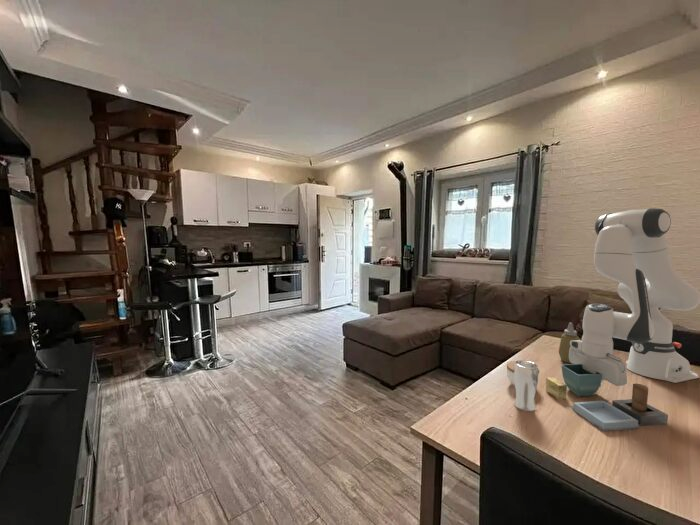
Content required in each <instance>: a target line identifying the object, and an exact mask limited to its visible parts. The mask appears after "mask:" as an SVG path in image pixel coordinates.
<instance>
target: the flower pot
mask: <svg viewBox="0 0 700 525" xmlns="http://www.w3.org/2000/svg"><path fill="white" fill-rule="evenodd" d="M560 367H561V374H562V378H563V381H564V382H563V383H564V384H566V385H567V388H568V389H569V391H571V392H572V393H574V395H577V396H578V397H585V396H586V397H587V396H593V395H595V394H596V393H597V392H598V391H599V389H600V388H601V387H600V383H601V379H602V374H601V373H599V372H596V374H592V373H590V372H588V371H586V370H584V369H583V368H582V364H573V363H566V364H561V366H560ZM601 384H602V383H601Z"/></svg>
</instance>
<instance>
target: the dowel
mask: <svg viewBox="0 0 700 525" xmlns="http://www.w3.org/2000/svg"><path fill="white" fill-rule="evenodd" d="M631 392H632V393H631V399H632V405H631V408H633V409H635V410H637V411H639V412H647V404H648V397H649V387H648V386H647V385H644V384H641V383H632V391H631Z"/></svg>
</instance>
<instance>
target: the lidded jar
mask: <svg viewBox="0 0 700 525" xmlns="http://www.w3.org/2000/svg"><path fill="white" fill-rule="evenodd" d="M516 361H517V360H516ZM516 361H515V360H514V361H509V362H507V363H506V374H507V375H506V376H507V378H508V380H509V382H510V383H511V384H512V385H513V387H514V388H515V382H514V369H515V362H516ZM539 373H540V369H539V368H538V375H539Z"/></svg>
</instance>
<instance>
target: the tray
mask: <svg viewBox="0 0 700 525" xmlns="http://www.w3.org/2000/svg"><path fill="white" fill-rule="evenodd" d="M572 410H573V412H575V411H576V413H577V414H578V415H580V416H581V417H583V418H584V419H586V420H587V421H589V422H590V423H591V424H593V425H594V426H596V427H597V428H598V429H600V430H601V431H602V432H610V431H612V432H613V431H623V430H624V431H625V430H637V429H639V425H638V420H636V419H635V418H633V417H631V416H629V415H628V414H626V413H624V412H623V411H621V410H619V409H617V408H616V407H614V406H612V403H611V404H610V403H609V402H607V401H606V400H593V401H592V400H591V401H579V402H578V401H577V402H576V401H575V402H573V403H572Z"/></svg>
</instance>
